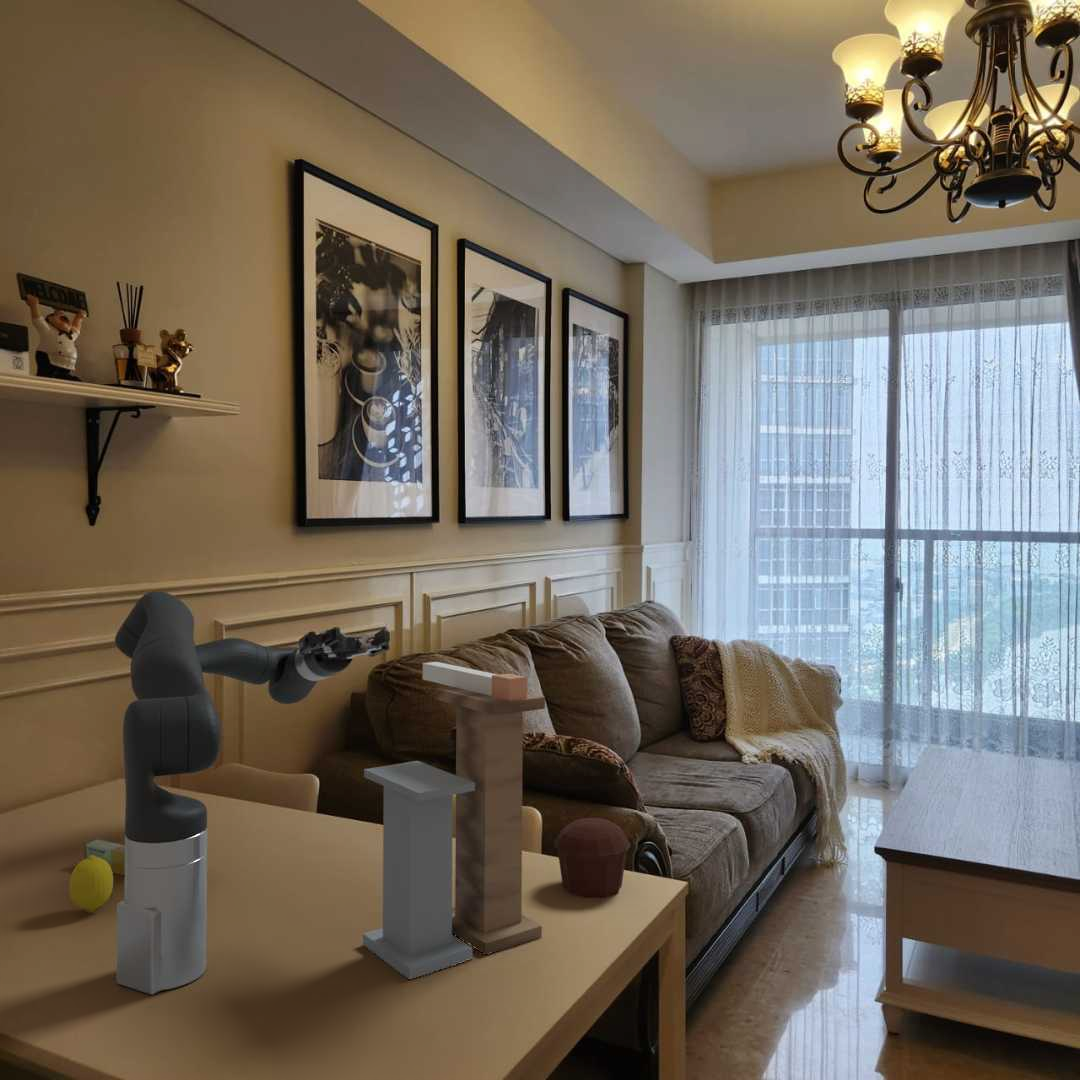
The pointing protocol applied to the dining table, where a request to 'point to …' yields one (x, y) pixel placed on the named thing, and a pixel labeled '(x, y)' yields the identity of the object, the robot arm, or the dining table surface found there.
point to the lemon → (91, 883)
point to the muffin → (592, 857)
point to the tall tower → (490, 820)
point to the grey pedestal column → (417, 869)
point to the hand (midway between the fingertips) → (362, 634)
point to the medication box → (108, 854)
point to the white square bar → (477, 680)
